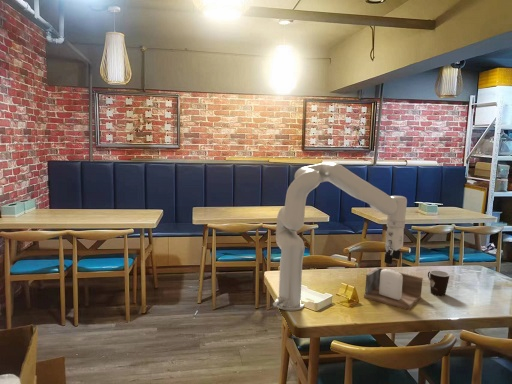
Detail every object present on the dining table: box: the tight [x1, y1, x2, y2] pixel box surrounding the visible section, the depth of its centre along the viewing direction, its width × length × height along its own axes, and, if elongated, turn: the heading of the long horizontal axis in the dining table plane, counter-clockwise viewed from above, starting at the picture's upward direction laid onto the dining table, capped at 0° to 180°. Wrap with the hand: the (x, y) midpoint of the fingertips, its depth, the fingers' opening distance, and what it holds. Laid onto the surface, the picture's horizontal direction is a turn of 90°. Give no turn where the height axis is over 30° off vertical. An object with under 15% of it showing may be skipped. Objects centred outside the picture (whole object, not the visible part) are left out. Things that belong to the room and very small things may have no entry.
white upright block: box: [379, 268, 403, 300], centre depth 182 cm, size 10×4×12 cm, turn 43°
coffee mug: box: [427, 269, 451, 297], centre depth 192 cm, size 12×9×10 cm
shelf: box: [363, 267, 423, 311], centre depth 184 cm, size 18×20×10 cm
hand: (392, 260), depth 180 cm, fingers open, 9 cm apart
